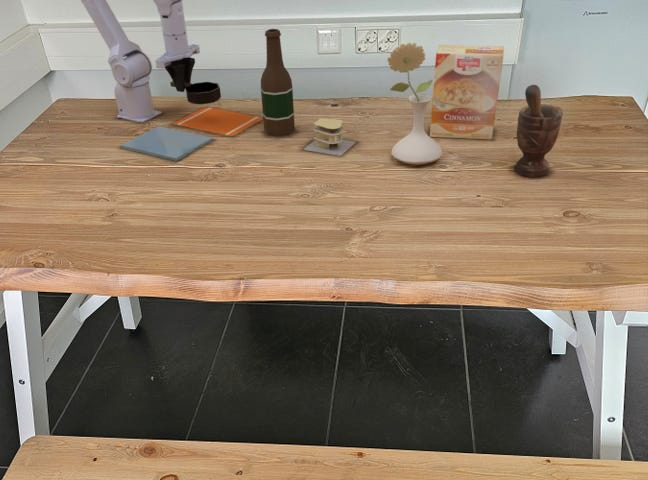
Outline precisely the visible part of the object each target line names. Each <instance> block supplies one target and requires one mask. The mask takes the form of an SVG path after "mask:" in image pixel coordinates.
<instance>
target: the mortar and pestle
mask: <svg viewBox="0 0 648 480" xmlns="http://www.w3.org/2000/svg"><path fill="white" fill-rule="evenodd" d="M524 95H525V100H526V104H527V105H525V106H523V107H521V108H520V109H519V112H518V116H517V126H516V141H517V147H518V148H519V150H520V151H521V153H522V156H521V157H520V158H519V159H518V161H516V164H515V165H513V170H514V171H515V172H516V173H518V174H519V175H521V176H523V177H527V178H540V177H543V176H547V175H548V174H549V173H550V168H551V167H550V162H549V161H548V160H547V159H546V158H545V157H546V155H547V154H548V153H550V152H551V150H552V149H553V148H554V146H555V144H556V141H557V140H558V136H559V133H560V129H561V123H562V119H563V116H564V115H563V114H564V111H563V109H562V108H561V107H560V106H557V105H553V104H547V103H543V104H541V103H542V91H541V89H540V87H539V86H538V85H536V84H531V85H528V86H527V87H526V88H525V92H524Z"/></svg>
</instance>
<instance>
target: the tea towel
mask: <svg viewBox="0 0 648 480" xmlns="http://www.w3.org/2000/svg"><path fill="white" fill-rule="evenodd" d="M262 120H263V116H255V115H250V114H245V113H241V112H234V111H229V110H224V109H219V108H214V107H208V106H204V107H202V108H200V109H199V110H198V109H197V110H196V111H194V112H192V113H190V114H189V115H186V116H184V117H182V118H180V119H178V120H176V121H174V122H172V125H177V126H181V127H186V128H191V129H196V130H201V131H205V132H209V133H210V132H211V133H215V134H220V135H224V136H229V137H234V136H236V135H237V134H239V133H240V132H242V131H245V130H246V129H248V128H249V127H251V126H253V125H255V124H257V123H258V122H260V121H262Z"/></svg>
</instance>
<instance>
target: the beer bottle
mask: <svg viewBox="0 0 648 480" xmlns="http://www.w3.org/2000/svg"><path fill="white" fill-rule="evenodd" d="M281 35H282V33H281V31H280V30H279V29H278V28H269V29H267V30H265V31H264V36H265V39H266V40H265V41H266V44H265V45H266V62H265V64H266V65H265V68H264V70H263V72H262V74H261V78H260V95H261V107H262V118H263V119H262V120H263V129H264V132H265V134H266V135H267V136H269V137H275V138H279V137H280V138H281V137H287V136H290V135H291V134H293V133H294V132H295V110H294V109H295V108H294V107H295V106H294V89H293V88H294V87H293V81H292V77H291V75H290V72H289V71H288V69H286V67H285V63H284V60H283V51H282V45H281V42H282V41H281Z"/></svg>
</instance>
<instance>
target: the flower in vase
mask: <svg viewBox="0 0 648 480" xmlns="http://www.w3.org/2000/svg"><path fill="white" fill-rule="evenodd" d="M425 60H426V53H425V52H424V49H423V45H417V43H416V42H413V43H411V42H407V43H406V44H405V43H401V44H400V45H399V46H396V47H395V48H394V49H393V50H392V51H391V52H390V54H389V57H387V62H388V66H389V68H390V70H392V71H394V72H399V73H400V74H401V73H406V74H407V82H408V83H405V82H402V81H401V82H398V83H395V84H394V85H392V86H391V88H389V91H391V92H399V93H404V92H406V91H407V90H408V88H410V90H411V91H412V92H413V94H412V95H409V96H408V98H407V99H408V101H409V102H410V105H411V107H412V114H413V115H412V116H413V122H412V123H413V124H412V129H411V131H410V132H409V133H408V134H407V135H406V136H404V137H403V138H401V139H400V140H399V141H397V142H396V143H395V144H394V145H393V147H392V149H391V155H392V157H393V159H395V160H396V161H398V162H400V163H404V164H408V165H426V164H431V163H433V162H436V161H437V160H439V159H440V157H441V156H442V155H443V150H442V147H441V146H440V145H439V143H438V142H437V141H436V140H434V139H433V137H430V135H429V134H427V133H426V131H425V128H424V121H425V114H426V110H427V107H428V105H429V104H430V102H431V101H432V100H433V97H432V96H431V95H428V94H425V93H424V94H422V93H423V92H425V91H427V90H428V89H429V88H430V86H432V83H433V81H434V78H432V79H430V80H428V81H425V82H423V83H420V84H418V86H417V87H416V90H414V87H413V86H412V84H411V81H410V72H412V71H414V70H416V69H419V68H420V67H421V65H422V64H423V62H424V61H425Z"/></svg>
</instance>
